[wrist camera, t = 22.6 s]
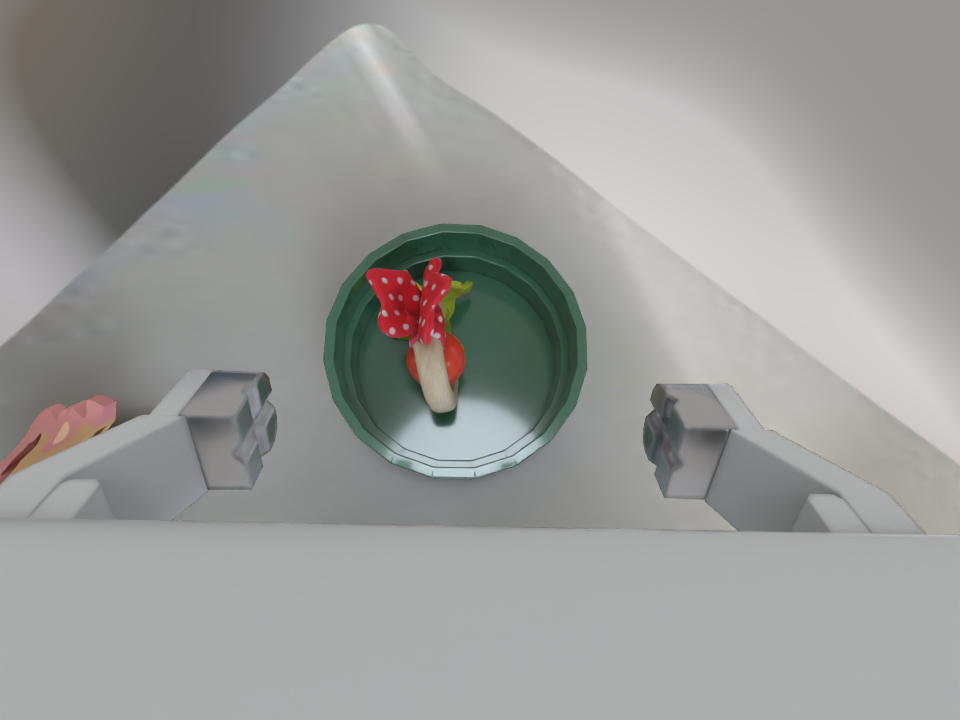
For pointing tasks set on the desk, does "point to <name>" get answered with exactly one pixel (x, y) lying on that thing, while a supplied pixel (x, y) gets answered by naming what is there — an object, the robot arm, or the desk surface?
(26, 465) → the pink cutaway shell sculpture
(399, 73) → the desk surface
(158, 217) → the desk surface
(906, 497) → the desk surface
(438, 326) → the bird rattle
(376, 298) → the bowl
